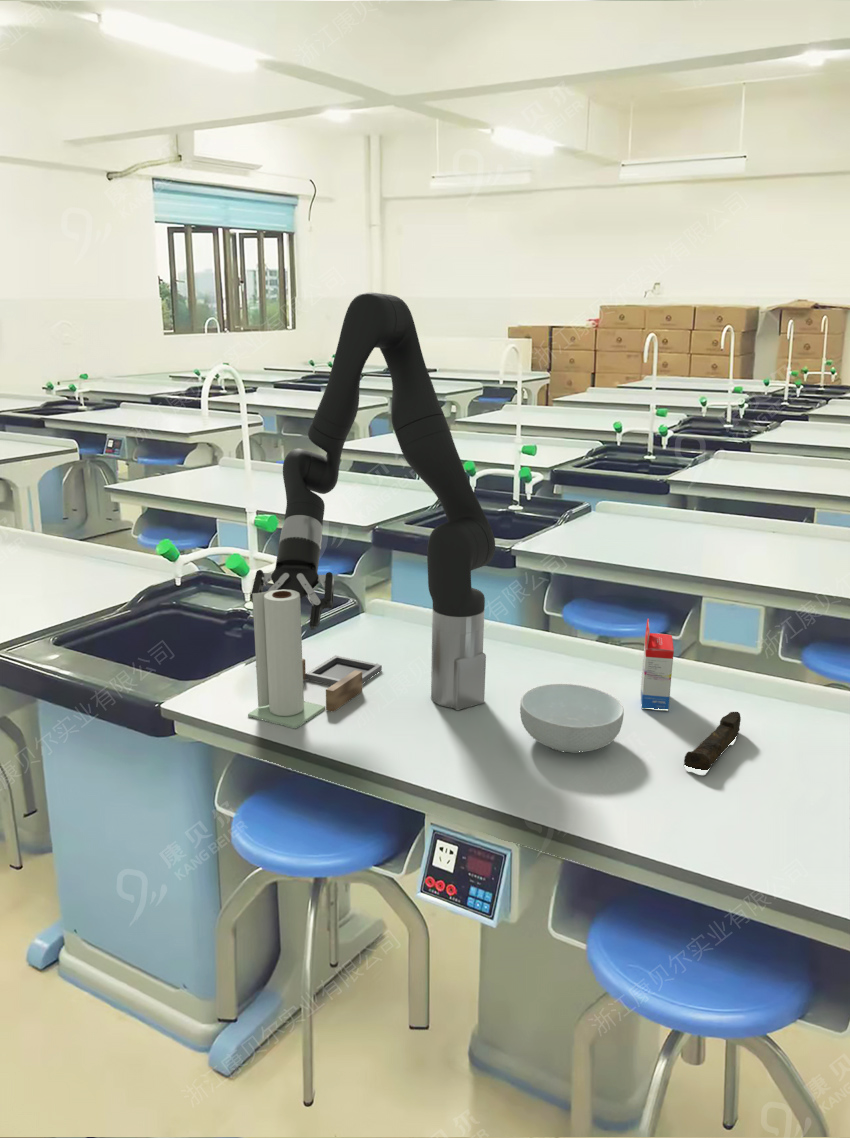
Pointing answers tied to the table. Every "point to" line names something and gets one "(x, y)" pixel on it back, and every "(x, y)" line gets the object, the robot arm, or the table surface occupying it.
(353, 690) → the walnut guide channel
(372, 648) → the table surface
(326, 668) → the gray square tray
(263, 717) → the sage pad
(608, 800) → the table surface
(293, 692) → the paper towel roll
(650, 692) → the ink box
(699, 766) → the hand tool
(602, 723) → the cereal bowl
